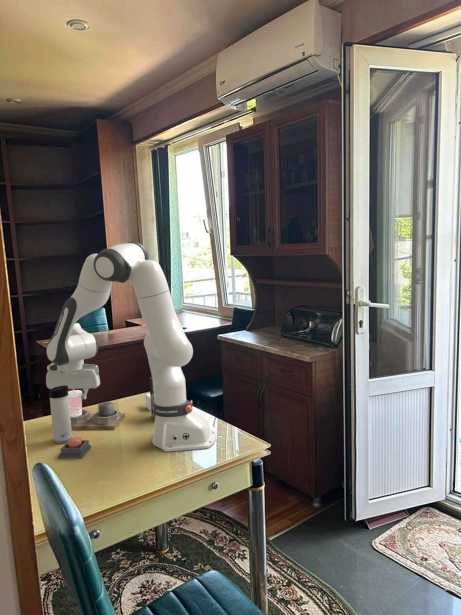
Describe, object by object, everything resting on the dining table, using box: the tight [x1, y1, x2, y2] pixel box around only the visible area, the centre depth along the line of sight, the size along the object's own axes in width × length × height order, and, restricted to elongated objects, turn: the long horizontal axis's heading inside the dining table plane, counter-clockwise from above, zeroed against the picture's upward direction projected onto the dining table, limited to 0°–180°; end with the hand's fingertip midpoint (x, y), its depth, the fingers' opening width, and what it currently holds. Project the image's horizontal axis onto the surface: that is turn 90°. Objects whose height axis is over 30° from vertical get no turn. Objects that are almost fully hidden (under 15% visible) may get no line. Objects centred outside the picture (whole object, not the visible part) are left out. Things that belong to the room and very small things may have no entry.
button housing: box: [58, 439, 92, 459], centre depth 157 cm, size 8×8×3 cm
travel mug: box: [49, 386, 73, 445], centre depth 166 cm, size 6×7×20 cm
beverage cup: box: [68, 388, 83, 417], centre depth 181 cm, size 6×6×14 cm
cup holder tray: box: [70, 401, 126, 431], centre depth 182 cm, size 22×13×8 cm, turn 86°
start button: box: [68, 436, 83, 448], centre depth 156 cm, size 4×4×2 cm
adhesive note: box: [145, 392, 151, 412], centre depth 198 cm, size 6×6×6 cm
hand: (74, 399), depth 182 cm, fingers closed on beverage cup, 6 cm apart
